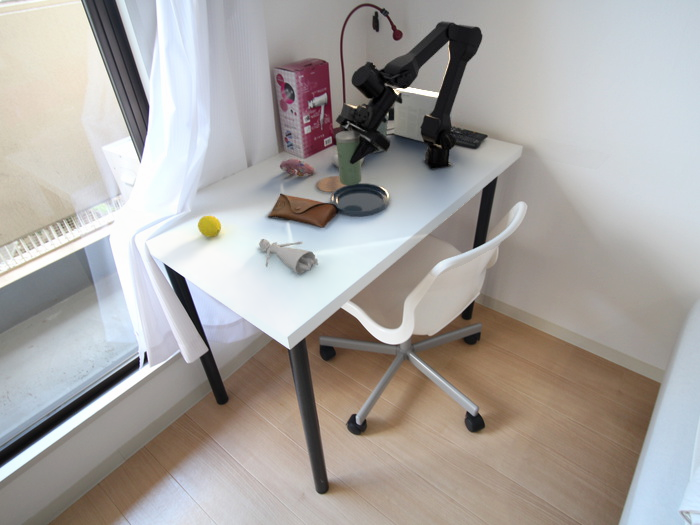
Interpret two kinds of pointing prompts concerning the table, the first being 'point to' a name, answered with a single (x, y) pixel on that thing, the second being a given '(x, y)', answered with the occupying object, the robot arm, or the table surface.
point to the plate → (360, 199)
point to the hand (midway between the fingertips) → (344, 159)
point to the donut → (335, 160)
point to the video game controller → (296, 167)
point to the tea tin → (348, 157)
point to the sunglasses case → (304, 210)
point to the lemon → (209, 226)
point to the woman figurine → (290, 255)
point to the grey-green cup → (382, 130)
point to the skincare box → (413, 112)
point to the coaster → (330, 184)
